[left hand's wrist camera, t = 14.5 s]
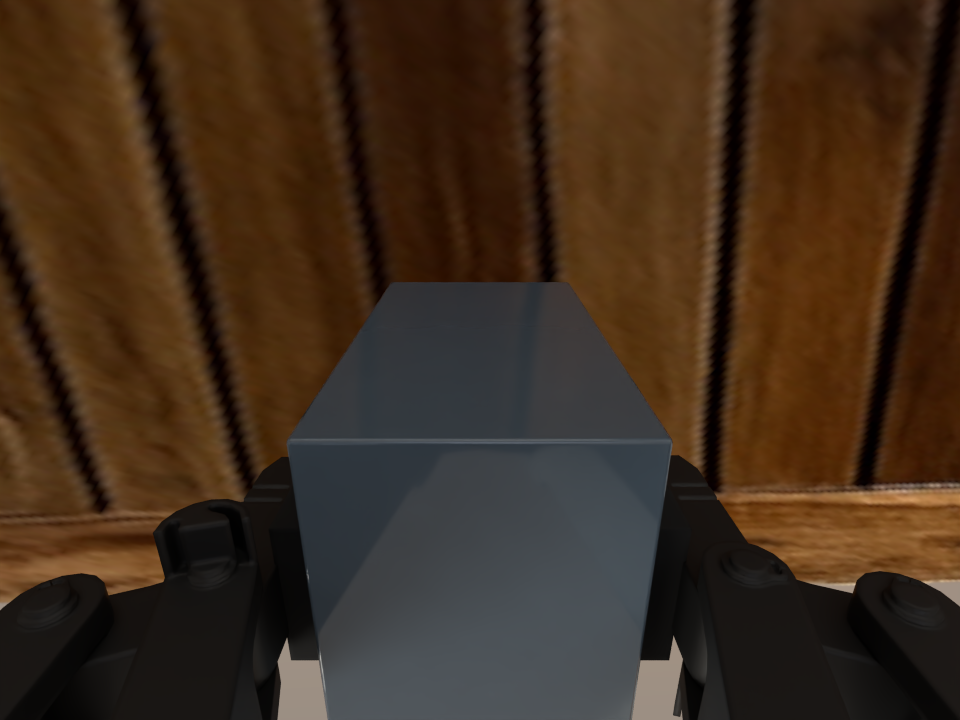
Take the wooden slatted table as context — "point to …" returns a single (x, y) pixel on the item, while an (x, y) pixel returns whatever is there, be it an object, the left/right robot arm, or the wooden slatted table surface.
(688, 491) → the left robot arm
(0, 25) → the wooden slatted table surface
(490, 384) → the brick
